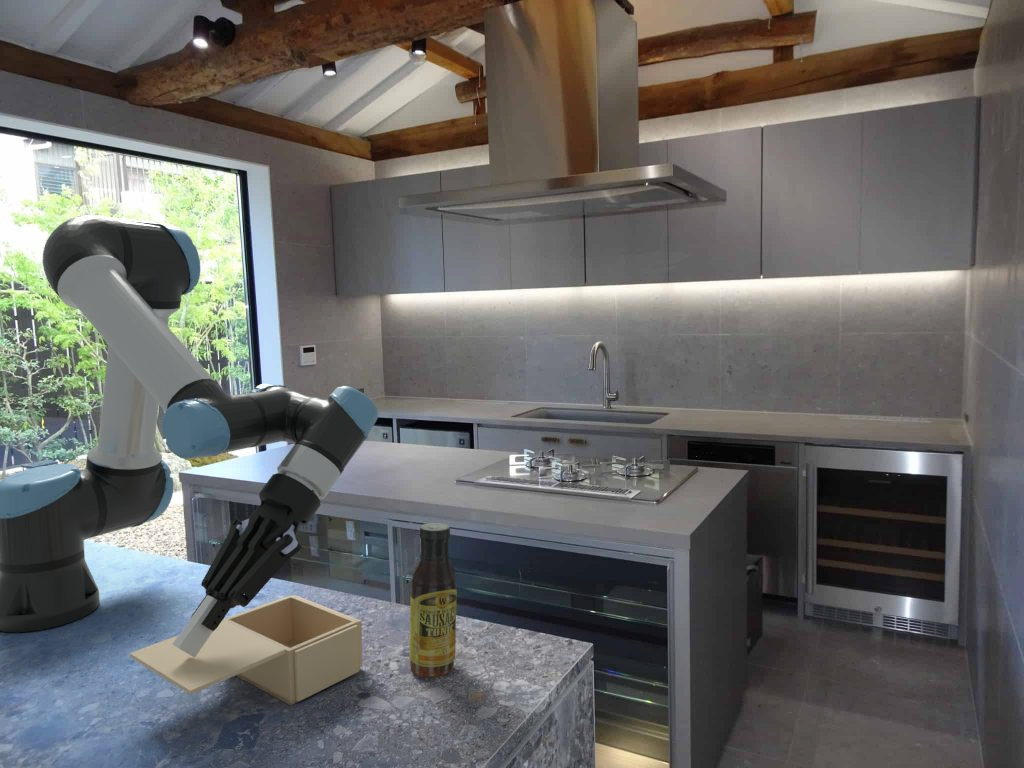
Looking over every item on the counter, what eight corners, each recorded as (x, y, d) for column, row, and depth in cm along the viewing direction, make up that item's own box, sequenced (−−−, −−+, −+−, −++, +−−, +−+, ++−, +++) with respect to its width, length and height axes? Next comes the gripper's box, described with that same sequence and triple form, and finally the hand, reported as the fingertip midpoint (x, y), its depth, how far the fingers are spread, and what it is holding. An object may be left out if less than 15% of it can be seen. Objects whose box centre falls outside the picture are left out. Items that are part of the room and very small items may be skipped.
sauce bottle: (418, 685, 94) (416, 536, 92) (403, 664, 99) (400, 523, 98) (464, 673, 97) (463, 529, 95) (447, 654, 102) (445, 517, 101)
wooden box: (222, 668, 99) (220, 618, 98) (294, 638, 108) (292, 592, 107) (293, 707, 89) (291, 652, 88) (366, 670, 98) (365, 620, 97)
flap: (221, 623, 97) (129, 657, 88) (221, 619, 97) (129, 653, 88) (285, 654, 88) (190, 695, 79) (285, 649, 88) (190, 690, 79)
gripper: (346, 509, 95) (235, 680, 84) (287, 495, 103) (178, 649, 92) (311, 477, 91) (189, 653, 79) (253, 464, 99) (133, 622, 87)
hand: (183, 650), depth 86 cm, fingers closed
